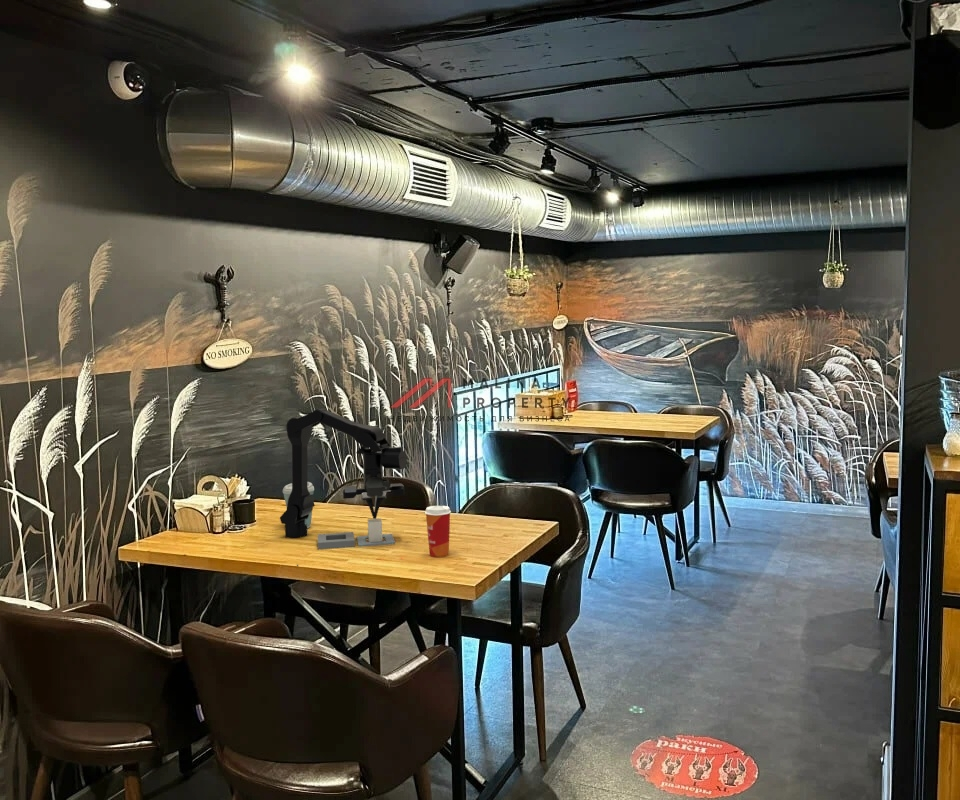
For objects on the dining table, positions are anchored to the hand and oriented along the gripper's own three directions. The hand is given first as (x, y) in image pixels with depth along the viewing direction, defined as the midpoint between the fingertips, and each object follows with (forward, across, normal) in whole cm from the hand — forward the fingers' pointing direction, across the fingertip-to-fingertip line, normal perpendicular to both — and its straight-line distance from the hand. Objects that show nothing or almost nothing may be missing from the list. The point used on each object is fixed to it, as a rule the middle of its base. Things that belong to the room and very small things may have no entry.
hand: (374, 518), depth 259 cm
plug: (+9, 0, 0) cm, 9 cm away
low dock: (+8, 0, 0) cm, 9 cm away
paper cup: (+9, +18, -16) cm, 25 cm away
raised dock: (+8, -12, 0) cm, 15 cm away
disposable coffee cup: (+9, -23, +32) cm, 41 cm away
